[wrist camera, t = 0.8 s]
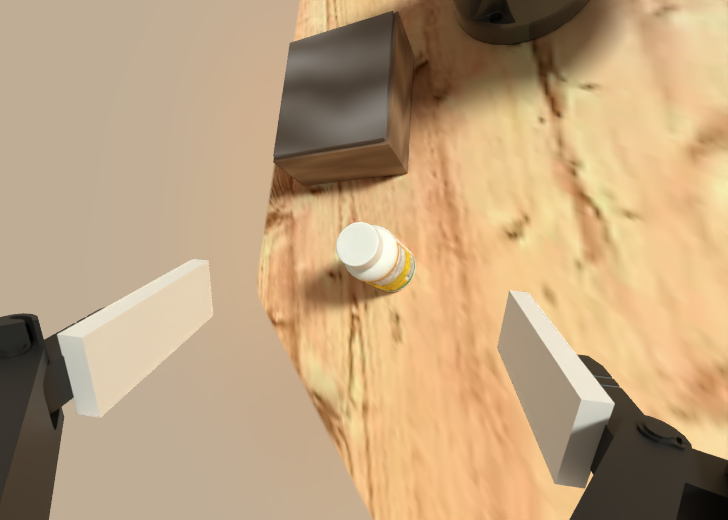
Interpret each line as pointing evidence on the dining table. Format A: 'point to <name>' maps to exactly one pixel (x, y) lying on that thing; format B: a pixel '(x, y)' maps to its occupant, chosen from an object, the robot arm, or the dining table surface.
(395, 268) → the supplement bottle
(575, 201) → the dining table surface
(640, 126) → the dining table surface
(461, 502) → the dining table surface
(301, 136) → the walnut riser block
